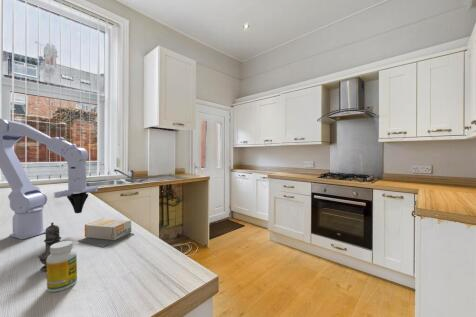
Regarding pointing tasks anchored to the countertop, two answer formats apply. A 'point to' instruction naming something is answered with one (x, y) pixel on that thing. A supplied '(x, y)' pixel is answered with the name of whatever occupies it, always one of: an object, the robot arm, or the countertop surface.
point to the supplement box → (108, 229)
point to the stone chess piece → (49, 243)
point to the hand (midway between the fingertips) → (78, 212)
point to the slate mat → (102, 240)
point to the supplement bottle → (61, 266)
